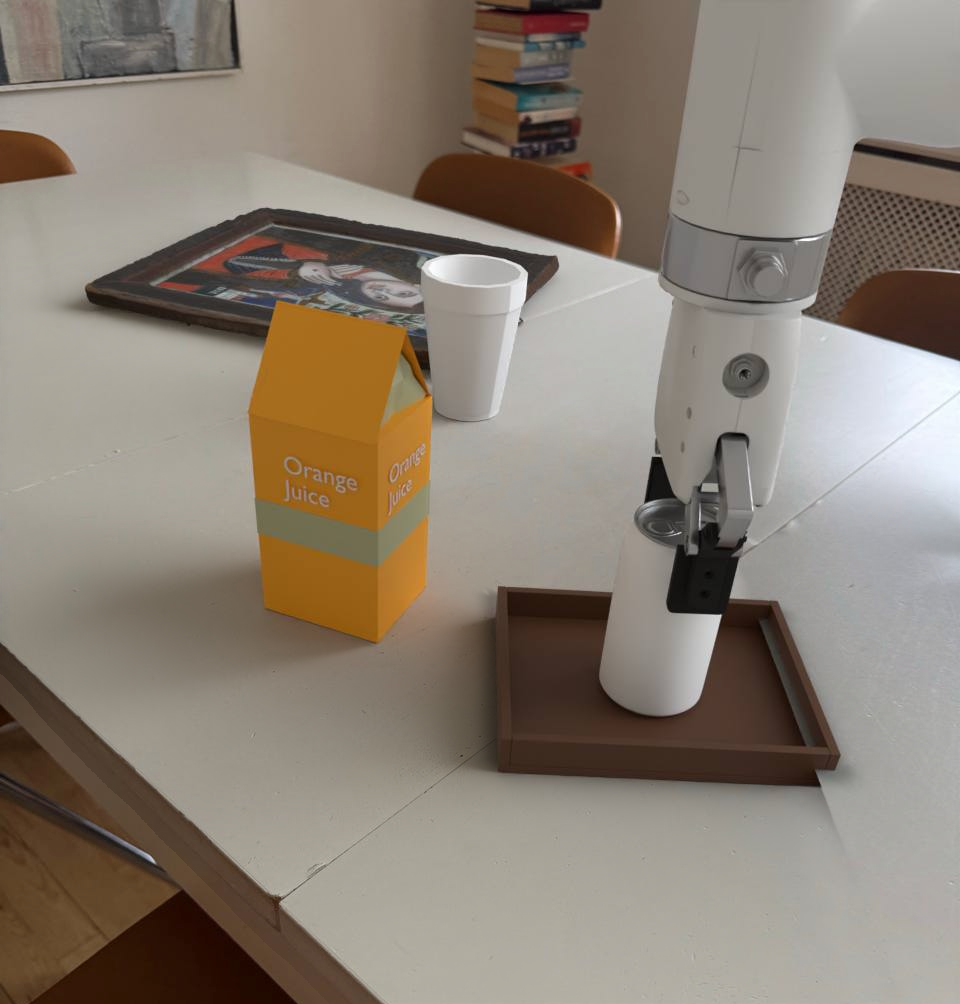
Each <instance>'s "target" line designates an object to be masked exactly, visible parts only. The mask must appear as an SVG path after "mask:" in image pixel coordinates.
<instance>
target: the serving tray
mask: <svg viewBox="0 0 960 1004" xmlns="http://www.w3.org/2000/svg"><path fill="white" fill-rule="evenodd" d="M496 592H497V593H496V602H495V603H496V604H495V617H494V618H495V619H494V621H495V624H494V625H495V629H494V630H495V675H496V676H495V683H496V687H495V688H496V690H495V691H496V732H497V733H496V736H497V737H496V742H497V743H496V744H497V745H496V746H497V772H499V773H513V774H514V773H516V774H535V775H537V774H539V775H559V776H580V777H599V778H600V777H601V778H621V779H622V778H623V779H643V780H644V779H645V780H666V781H667V780H668V781H669V780H670V781H687V782H688V781H689V782H707V783H708V782H709V783H710V782H711V783H731V784H736V783H737V784H753V785H755V784H757V785H776V786H795V787H796V786H799V787H817V788H818V787H820V788H821V787H822V784H821V781H820V779H819V776H818V774H817V771H819V770H820V771H836V769H837V767H838V764H839V761H840V758H841V757H842V756H841V755H842V754H841V752H840V749H839V746H838V744H837V742H836V739H835V737H834V734H833V732H832V729H831V727H830V724H829V723H828V720H827V717H826V715H825V712H824V710H823V707H822V705H821V703H820V700H819V698H818V695H817V693H816V691H815V688H814V686H813V684H812V683H813V682H812V681H811V678H810V676H809V673H808V671H807V668H806V666H805V664H804V661H803V660H802V659H803V658H802V656H801V654H800V652H799V649H798V647H797V645H796V642H795V640H794V637H793V635H792V632H791V630H790V628H789V625H788V622H787V620H786V618H785V615H784V613H783V611H782V608H781V605H780V603H779V601H778V600H773V599H772V600H771V599H768V600H767V599H752V598H751V599H747V598H731V597H730V599H729V603H728V607H727V610H726V612H725V613H723V614H722V616H721V619H720V623H719V627H718V631H717V635H716V639H715V643H714V647H713V651H712V655H711V659H710V662H709V666H708V670H707V674H706V678H705V681H704V685H703V689H702V692H701V695H700V698H699V700H698V701H697V703H696V704H695V705H694V706H692V707H691V708H690V709H688V710H686V711H684V712H682V713H680V714H677V715H674V716H670V717H648V716H643V715H639V714H635V713H633V712H630V711H628V710H626V709H624V708H622V707H621V706H619V705H618V704H616V703H615V702H614V701H613V700H612V699H611V698H610V697H609V695H608V694H607V693H606V692H605V690H604V689H603V687H602V685H601V682H600V679H599V672H600V665H601V659H602V653H603V647H604V641H605V635H606V629H607V623H608V618H609V612H610V606H611V600H612V595H613V591H597V590H579V589H578V590H577V589H561V588H560V589H559V588H541V587H521V586H520V587H519V586H505V585H498V586H497V591H496ZM761 620H766V621H767V624H768V625H769V628H770V631H771V634H772V637H773V639H774V642H775V644H776V646H777V649H778V652H779V655H780V657H781V660H782V662H783V665H784V667H785V670H786V673H787V675H788V678H789V680H790V683H791V685H792V688H793V690H794V694H795V696H796V699H797V701H798V704H799V707H800V709H801V711H802V714H803V716H804V719H805V721H806V724H807V727H808V730H809V732H810V734H811V737H812V740H813V743H814V744H815V746H807V745H806V741H805V738H804V736H803V733H802V731H801V728H800V725H799V722H798V721H797V717H796V715H795V712H794V709H793V707H792V703H791V701H790V698H789V696H788V693H787V691H786V689H785V686H784V682H783V680H782V677H781V675H780V673H779V670H778V666H777V664H776V661H775V659H774V656H773V654H772V650H771V648H770V645H769V643H768V641H767V637H766V635H765V632H764V630H763V627H762V623H761V622H760V621H761Z"/></svg>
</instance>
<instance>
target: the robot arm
mask: <svg viewBox="0 0 960 1004" xmlns="http://www.w3.org/2000/svg"><path fill="white" fill-rule="evenodd" d="M863 139H876V140H885V141H892V142H899V143H904V144H905V143H906V144H911V145H916V146H917V145H919V146H923V147H931V148H938V149H953V148H960V0H700V2H699V10H698V15H697V23H696V30H695V37H694V43H693V49H692V57H691V63H690V70H689V77H688V83H687V89H686V96H685V101H684V109H683V115H682V122H681V128H680V134H679V141H678V147H677V154H676V159H675V166H674V173H673V180H672V186H671V194H670V199H669V205H668V212H667V217H666V218H667V220H666V225H665V231H664V238H663V243H662V244H663V245H662V250H661V257H660V264H659V270H658V276H657V282H658V284H659V287H660V288H661V289H662V290H663V291H664V292H665V293H668V294H670V296H672V297H673V299H672V301H671V311H670V315H669V321H668V325H667V331H666V336H665V342H664V347H663V351H662V357H661V363H660V369H659V374H658V381H657V387H656V396H655V402H654V403H655V405H654V416H653V417H654V419H653V424H654V434H655V439H654V453H655V454H654V455H656V456H651V459H650V465H649V471H648V477H647V484H646V489H645V495H644V501H643V504H645V503H647V502H649V501H652V500H657V499H664V498H678V499H679V500H680V501H682V502H683V503H685V533H684V545H680V544H677V548H676V553H675V558H674V563H673V569H672V574H671V579H670V584H669V589H668V594H667V599H666V605H667V609H668V611H669V612H671V613H682V614H707V615H721V614H723V613H725V612H726V610H727V607H728V603H729V599H730V598H731V594H732V590H733V586H734V582H735V578H736V573H737V569H738V565H739V561H740V559H741V558H742V556H743V552H744V544H745V543H746V542H747V541H748V536H747V534H748V529H749V527H750V525H751V523H752V522H753V518H754V507H755V508H764V507H766V506H767V504H769V503H770V501H771V500H772V497H773V493H774V489H775V484H776V479H777V475H778V470H779V466H780V460H781V455H782V450H783V446H784V441H785V436H786V431H787V426H788V421H789V417H790V412H791V411H790V410H791V406H792V400H793V396H794V395H793V394H794V388H795V382H796V376H797V372H798V371H797V370H798V363H799V355H800V349H801V348H800V347H801V338H802V326H803V312H802V311H803V310H806V309H807V308H809V307H811V306H812V305H813V304H815V302H816V299H817V295H818V291H819V288H820V284H821V280H822V274H823V271H824V267H825V264H826V259H827V254H828V252H829V247H830V244H831V239H832V235H833V231H834V226H835V223H836V219H837V215H838V211H839V207H840V204H841V199H842V195H843V191H844V187H845V184H846V180H847V177H848V173H849V172H848V171H849V168H850V163H851V159H852V155H853V152H854V148H855V145H856V144H857V143H858V142H860V141H861V140H863ZM703 484H717V491H702V488H703ZM701 507H711V508H715V509H717V510H718V512H717V515H716V522H709V523H708V524H707V525H705V526H704V527H703V528H702V529H701V530H700V513H701Z"/></svg>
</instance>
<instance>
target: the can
mask: <svg viewBox="0 0 960 1004" xmlns="http://www.w3.org/2000/svg"><path fill="white" fill-rule="evenodd" d="M717 512H718V508H711V507H701V513H700V530H701V529H702V528H703V527H704V526H705V525H707V524H708V523H709V522H716V515H717ZM684 533H685V503H683V502H682V501H680V500H679V499H678V498H664V499H657V500H652V501H649V502H647V503H645V504H644V503H643V504H641V505H640V506H638V508H637V509H636V510H635V512H634V514H633V521H632V522H631V523H630V525H629V526H628V527H627V529H626V530H625V532H624V534H623V537H622V540H621V546H620V550H619V556H618V560H617V561H618V562H617V565H616V566H617V567H616V571H615V572H616V573H615V578H614V585H613V590H612V592H613V595H612V600H611V606H610V612H609V618H608V623H607V629H606V635H605V641H604V647H603V653H602V659H601V665H600V672H599V679H600V682H601V685H602V687H603V689H604V690H605V692H606V693H607V694H608V695H609V697H610V698H611V699H612V700H613V701H614V702H615V703H616V704H618V705H619V706H621V707H622V708H624V709H626V710H628V711H630V712H633V713H635V714H639V715H643V716H648V717H670V716H674V715H677V714H680V713H682V712H684V711H686V710H688V709H690V708H691V707H692V706H694V705H695V704H696V703H697V701H698V700H699V698H700V695H701V692H702V689H703V685H704V681H705V678H706V674H707V670H708V666H709V662H710V659H711V655H712V651H713V647H714V643H715V639H716V635H717V631H718V627H719V623H720V619H721V616H722V614H721V615H707V614H682V613H671V612H669V611H668V609H667V605H666V599H667V594H668V589H669V584H670V579H671V574H672V569H673V563H674V558H675V553H676V548H677V544H680V545H684Z"/></svg>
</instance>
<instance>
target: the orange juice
mask: <svg viewBox="0 0 960 1004" xmlns="http://www.w3.org/2000/svg"><path fill="white" fill-rule="evenodd" d="M248 405H249V406H248V409H247V414H248V427H249V438H250V450H251V461H252V470H253V471H252V472H253V473H252V474H253V475H252V476H253V483H254V484H253V486H254V496H255V497H254V508H255V519H256V521H255V522H256V531H257V534H258V545H259V557H260V569H261V582H262V591H263V592H262V593H263V605H264V609H267V610H269V611H272V612H273V611H274V612H277V613H280V614H283V615H286V616H290V617H292V618H296V619H299V620H302V621H306V622H308V623H311V624H316V625H319V626H321V627H325V628H327V629H331V630H334V631H338V632H340V633H344V634H347V635H351V636H354V637H356V638H360V639H362V640H366V641H370V642H373V643H376V644H378V643H379V642H381V640H382V639H383V638H384V636H385V635H387V633H388V632H389V631H390V630H391V628H392V627H393V626H394V625H395V623H396V622H397V621H398V620H399V619H400V618H401V617H402V615H404V613H405V612H406V611H407V610H408V608H410V606H411V605H412V604H413V602H414V601H415V600H416V599H417V598H418V597H419V595H420V594H421V593H422V592H423V591H424V589H426V587H427V564H428V537H429V536H428V535H429V534H428V533H429V515H430V503H431V502H430V501H431V500H430V499H431V478H430V477H431V449H432V426H433V425H432V421H433V420H432V419H433V394H432V395H431V393H430V391H429V387H428V385H427V382H426V380H425V377H424V375H423V372H422V369H420V366H419V364H418V361H417V358H416V356H415V353H414V350H413V347H412V345H411V342H410V339H409V337H408V334H407V328H404V327H400V326H395V325H390V324H386V323H381V322H376V321H372V320H367V319H362V318H358V317H353V316H348V315H344V314H339V313H334V312H330V311H325V310H320V309H316V308H311V307H306V306H302V305H297V304H292V303H288V302H283V301H278V300H277V301H276V305H275V309H274V313H273V316H272V320H271V324H270V328H269V332H268V336H267V338H265V344H264V348H263V350H262V355H261V359H260V363H259V367H258V370H257V374H256V378H255V382H254V386H253V390H252V393H251V397H250V401H249V404H248Z"/></svg>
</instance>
